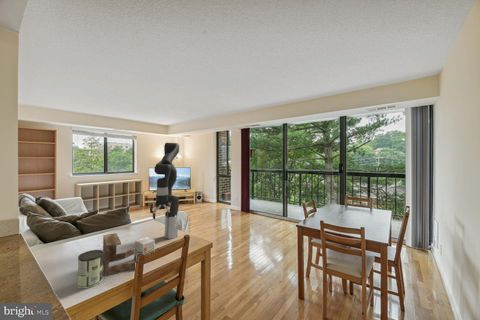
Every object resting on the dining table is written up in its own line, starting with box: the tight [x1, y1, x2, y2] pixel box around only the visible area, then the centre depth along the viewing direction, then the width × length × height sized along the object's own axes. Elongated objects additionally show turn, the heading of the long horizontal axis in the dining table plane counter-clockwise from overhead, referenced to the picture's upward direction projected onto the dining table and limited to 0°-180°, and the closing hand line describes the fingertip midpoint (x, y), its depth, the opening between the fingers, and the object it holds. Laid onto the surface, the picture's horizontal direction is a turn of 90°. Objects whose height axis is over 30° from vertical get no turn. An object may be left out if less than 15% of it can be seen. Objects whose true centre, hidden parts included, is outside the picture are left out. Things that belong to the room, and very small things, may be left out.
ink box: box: [133, 236, 156, 261], centre depth 130 cm, size 9×8×12 cm
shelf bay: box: [102, 232, 137, 276], centre depth 123 cm, size 18×24×16 cm
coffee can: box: [77, 249, 104, 289], centre depth 104 cm, size 10×10×14 cm
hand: (161, 218), depth 139 cm, fingers open, 8 cm apart
